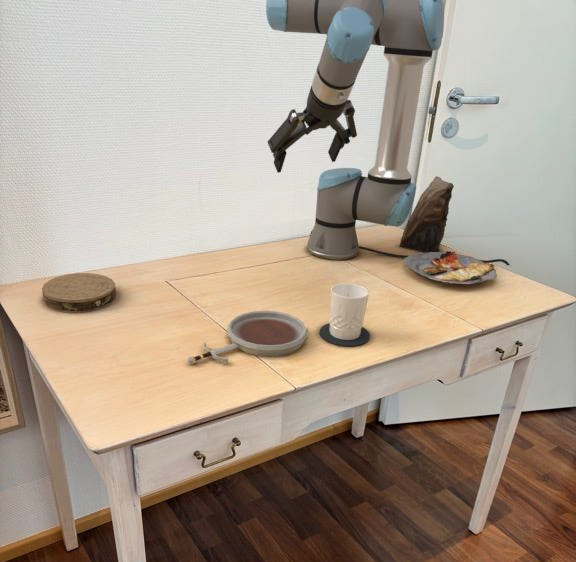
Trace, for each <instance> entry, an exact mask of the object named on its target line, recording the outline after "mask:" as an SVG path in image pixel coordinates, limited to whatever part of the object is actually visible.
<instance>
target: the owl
mask: <svg viewBox="0 0 576 562" xmlns="http://www.w3.org/2000/svg"><path fill="white" fill-rule="evenodd" d="M454 188H455V186H454V184H453V183H452V182H448V181H445V180H443V179H442V178H441V176H440V177H439V176H435V177H434V178H433V180H432V181H431V182H430V183H429V184H428V186H427V188H425V190H424V191H423V192H422V193H421V195H420V197H419V199H418V201H417V203H416V205H415V207H414V209H413V210H412V212H411V215H410V216H409V219H408V220H407V222H406V224H405V228H404V230H403V232H402V235H401V238H400V244H399V248H403V249H408V250H412V251H413V250H414V251H417V252H420V253H426V252H428V253H429V252H441V250H440V246H441V242H442V241H443V238H444V236H445V232H446V231H445V230H446V227H447V221H448V215H449V213H450V211H449V209H450V207H449V206H450V201H451V199H452V197H453V196H452V195H453V193H452V192H453V189H454Z"/></svg>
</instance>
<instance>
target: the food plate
mask: <svg viewBox="0 0 576 562" xmlns="http://www.w3.org/2000/svg"><path fill="white" fill-rule="evenodd" d="M455 251H456V250H455ZM455 251H449V250H447V251H445V252H443V251H439V252H429V253H428V252H426V253H425V252H419V253H416V254H412V255H413V256H408V257H406V258H403V263H404V264H405V266H406V267H407V268H408V269H410V270H411V271H413V272H415V273H417V274H419V275H421V276H423V277H425V278H427V279H431V280H434V281H435V282H440V283H443V284H444V285H449V284H460V285H461V284H462V285H472V284H477V283H484V282H488V281H491V280H494V279H497V277H498V273H497V270H496V269H495V264H492V263H484V262H482V261H481V260H482V259H478V258H475V257H472V256H468V255H465V254H459V253H456V252H455Z"/></svg>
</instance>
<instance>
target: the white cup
mask: <svg viewBox="0 0 576 562" xmlns="http://www.w3.org/2000/svg"><path fill="white" fill-rule="evenodd" d="M369 295H370V292H369V290H368V288H366V287H365V286H362V285H360V284H357V283H351V282H350V283H349V282H343V283H336V284H333V285H332V286H331V288H330V300H329V301H330V302H329V323H330V328H329V331H330V334H331V335H332V336H334V337H335V338H338V339H342V340H353V339H356V338H358V337H359V336H360V334H361V329H362V327H363V324H364V320H365V315H366V311H367V305H368V300H369Z"/></svg>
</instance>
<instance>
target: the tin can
mask: <svg viewBox="0 0 576 562" xmlns="http://www.w3.org/2000/svg"><path fill="white" fill-rule="evenodd" d="M41 293H42V298H43V302H44V305H45V306H46V307H48V308H49V309H51V310H53V311H56V312H61V313H69V314H77V313H89V312H94V311H97V310H101V309H104V308H106V307H108V306H110V305H111V304H113V303H114V302H115V301H116V298H117V291H116V283H115V281H114V280H113V278H111V277H108V276H106V275H102V274H99V273H92V272H75V273H68V274H63V275H60V276H55V277H54V278H51V279H49V280H48V281H46V282H45V283H44V284H43V285H42V288H41Z"/></svg>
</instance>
